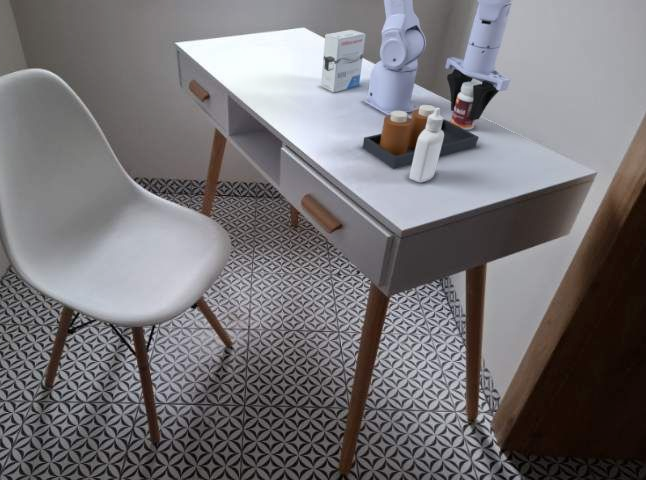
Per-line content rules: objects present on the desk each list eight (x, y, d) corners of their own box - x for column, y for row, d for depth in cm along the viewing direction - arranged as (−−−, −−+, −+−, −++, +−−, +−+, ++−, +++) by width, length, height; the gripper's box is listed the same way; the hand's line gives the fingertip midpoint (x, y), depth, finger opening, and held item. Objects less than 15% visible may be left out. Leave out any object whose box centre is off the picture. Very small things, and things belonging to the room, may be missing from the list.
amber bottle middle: (400, 142, 98) (407, 104, 94) (420, 137, 100) (428, 100, 96) (418, 152, 95) (426, 114, 90) (438, 147, 97) (447, 110, 92)
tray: (362, 147, 97) (363, 137, 96) (442, 129, 105) (444, 119, 104) (393, 168, 91) (395, 157, 90) (475, 147, 99) (478, 136, 98)
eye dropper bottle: (442, 180, 88) (460, 111, 81) (414, 184, 87) (430, 115, 79) (428, 168, 92) (445, 101, 84) (401, 172, 90) (415, 105, 82)
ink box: (345, 80, 126) (351, 28, 119) (359, 86, 123) (367, 33, 116) (319, 86, 122) (324, 33, 114) (333, 93, 119) (339, 38, 112)
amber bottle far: (373, 148, 96) (379, 110, 91) (394, 143, 98) (401, 106, 93) (390, 159, 92) (397, 121, 88) (411, 154, 94) (419, 116, 90)
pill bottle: (445, 122, 108) (455, 82, 102) (464, 120, 109) (475, 79, 104) (459, 131, 104) (470, 90, 99) (478, 129, 106) (490, 88, 100)
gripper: (530, 52, 93) (506, 124, 102) (471, 32, 103) (454, 99, 111) (502, 57, 90) (480, 130, 99) (444, 35, 100) (429, 104, 109)
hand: (464, 114), depth 105 cm, fingers closed on pill bottle, 5 cm apart
